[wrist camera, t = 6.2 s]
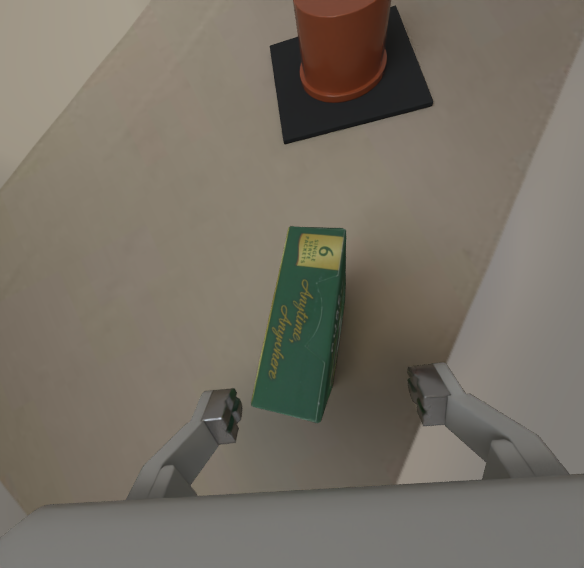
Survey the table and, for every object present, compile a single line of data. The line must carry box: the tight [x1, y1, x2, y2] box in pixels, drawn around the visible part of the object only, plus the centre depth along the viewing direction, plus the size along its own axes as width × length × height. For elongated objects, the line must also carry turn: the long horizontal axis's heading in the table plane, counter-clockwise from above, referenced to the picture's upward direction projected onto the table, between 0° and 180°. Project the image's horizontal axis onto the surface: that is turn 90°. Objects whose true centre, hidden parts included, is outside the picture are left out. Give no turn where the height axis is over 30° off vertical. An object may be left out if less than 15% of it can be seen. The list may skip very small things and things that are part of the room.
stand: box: [293, 0, 391, 103], centre depth 26 cm, size 10×10×8 cm
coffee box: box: [251, 226, 346, 423], centre depth 16 cm, size 8×3×13 cm, turn 171°
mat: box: [270, 6, 433, 144], centre depth 30 cm, size 16×16×1 cm
